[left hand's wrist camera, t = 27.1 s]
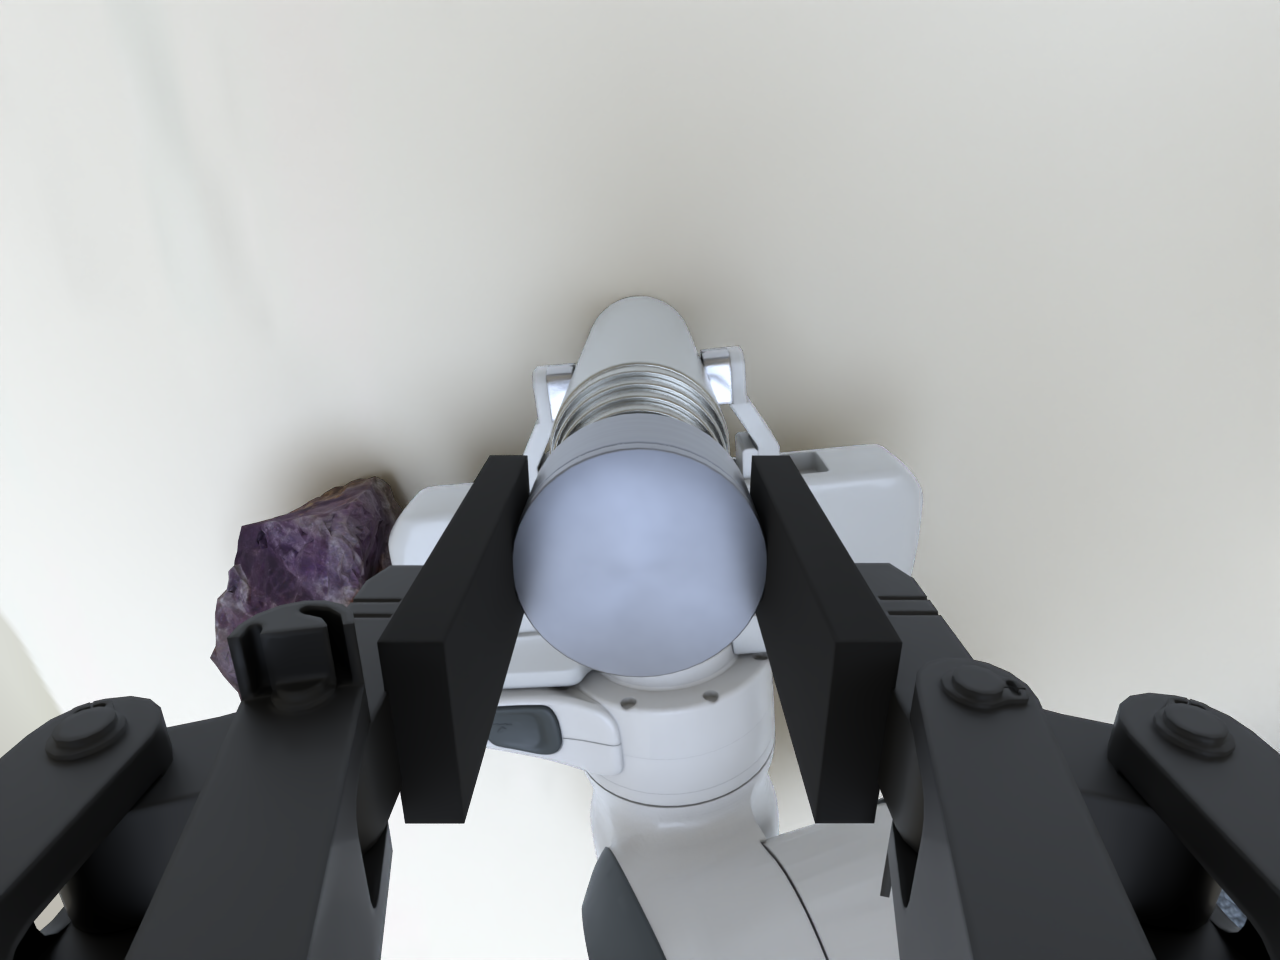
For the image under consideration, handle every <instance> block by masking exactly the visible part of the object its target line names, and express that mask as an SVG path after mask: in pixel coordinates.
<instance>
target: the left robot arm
mask: <svg viewBox="0 0 1280 960" xmlns="http://www.w3.org/2000/svg"><path fill="white" fill-rule="evenodd" d="M529 495H530V486H529V470H528V455H490V456H489V458H488V459H487V461H486V463H485V464H484V466H483V468H482V469H481V471H480V473H479V474H478V476H477V478H476V479H475V481H474V483H473V484H472V486H471V488H470V489H469V491H468V493H467V494H466V496H465V497H464V499H463V501H462V502H461V504H460V506H459V507H458V509H457V511H456V512H455V514H454V516H453V517H452V519H451V521H450V522H449V524H448V526H447V527H446V529H445V531H444V532H443V534H442V536H441V537H440V539H439V540H438V542H437V544H436V545H435V547H434V549H433V550H432V552H431V554H430V555H429V557H428V559H427V560H426V562H425V564H424V565H390V566H388V567H387V568H385V569H384V570H382V571H381V572H379V573H378V574H376V575H375V576H373V577H371V578H370V579H368V580H367V581H366V582H365V583H364V585H363V586H362V587H361V589H360V590H359V591H358V593H357V594H356V596H355V597H354V598H353V602H350V604H349V605H348V606H347V607H346V606H344V605H343V604H339V603H335V602H331V601H326V600H314V601H300V602H294V603H289V604H284V605H280V606H277V607H274V608H271V609H269V610H266V611H263V612H261V613H258V614H256V615H254V616H253V617H251V618H249V619H248V620H246V621H244V622H243V623H241V624H239V625H238V626H237V627H236V628H235V629H234V631H233V632H232V633H231V634H230V635H229V636H228V637H227V641H228V645H229V650H230V654H231V658H232V662H233V666H234V670H235V674H236V678H237V682H238V686H239V690H240V694H241V699H242V701H241V703H240V705H239V707H238V710H237V712H236V713H232V714H228V715H224V716H221V717H216V718H211V719H207V720H202V721H197V722H192V723H187V724H182V725H177V726H172V727H166V724H165V721H164V717H163V714H162V710H161V707H159V706H158V705H157V704H156V703H154V702H153V701H152V700H151V699H147V698H140V697H134V696H127V697H118V698H108V699H102V700H98V701H94V702H93V703H90V702H89V703H86V704H83V705H80V706H77V707H75V708H73V709H72V710H70V711H68V712H66V713H64V714H62V715H59V716H57V717H55V718H53V719H51V720H49V721H48V722H46V723H45V724H43V725H42V726H40V727H39V728H38V729H36V730H35V731H33V732H32V733H30V734H29V735H27V736H26V737H25V738H24V739H23V740H21V741H20V742H19V743H18V744H17V745H15V746H14V747H13V748H12V749H11V750H10V751H8V752H7V753H6V754H5V755H4V756H2V757H1V758H0V960H381V951H382V942H383V933H384V924H385V915H386V906H387V897H388V888H389V879H390V870H391V861H392V852H393V850H392V844H391V837H390V831H389V825H388V819H389V817H390V814H391V812H392V809H393V807H394V805H395V802H396V800H397V797H398V795H399V792H400V793H401V800H402V806H403V813H404V819H405V823H465V819H466V816H467V812H468V809H469V805H470V802H471V798H472V795H473V791H474V788H475V784H476V781H477V777H478V774H479V770H480V766H481V763H482V759H483V756H484V752H485V749H486V745H487V742H488V738H489V735H490V731H491V728H492V724H493V721H494V717H495V714H496V710H497V707H498V703H499V700H500V696H501V693H502V689H503V686H504V682H505V679H506V675H507V672H508V668H509V665H510V661H511V658H512V654H513V651H514V647H515V644H516V640H517V637H518V633H519V629H520V626H521V622H522V619H523V615H524V611H523V609H522V607H521V605H520V603H519V601H518V598H517V595H516V592H515V587H514V574H513V560H512V545H513V539H514V536H515V532H516V529H517V526H518V523H519V521H520V518H521V515H522V513H523V510H524V508H525V505H526V502H527V500H528V497H529ZM750 496H751V498H752V501H753V504H754V506H755V509H756V511H757V514H758V517H759V519H760V522H761V525H762V528H763V531H764V534H765V537H766V542H767V550H768V552H767V567H766V581H765V590H764V594H763V597H762V600H761V602H760V604H759V606H758V609H757V611H756V613H755V614H756V617H757V621H758V624H759V628H760V631H761V635H762V638H763V642H764V645H765V649H766V652H767V656H768V659H769V663H770V666H771V670H772V673H773V677H774V680H775V684H776V687H777V691H778V694H779V698H780V701H781V705H782V708H783V712H784V715H785V719H786V722H787V726H788V729H789V733H790V737H791V740H792V744H793V747H794V751H795V754H796V758H797V761H798V765H799V768H800V772H801V775H802V779H803V782H804V786H805V789H806V793H807V796H808V800H809V803H810V807H811V810H812V814H813V817H814V821H815V823H874V822H875V816H876V810H877V803H878V797H879V790H881V793H882V795H883V797H884V800H885V802H886V805H887V807H888V809H889V812H890V814H891V817H892V825H891V831H890V837H889V843H888V849H887V855H886V861H885V867H884V873H883V879H882V885H881V892H880V896H883V897H888V898H889V896H890V891H891V886H892V895H893V904H894V913H895V922H896V931H897V940H898V949H899V958H900V960H1280V754H1279V753H1278V752H1276V751H1275V750H1274V749H1273V748H1272V747H1271V746H1269V745H1268V744H1267V743H1266V742H1265V741H1263V740H1262V739H1261V738H1260V737H1259V736H1257V735H1256V734H1255V733H1254V732H1253V731H1251V730H1250V729H1248V728H1247V727H1245V726H1244V725H1242V724H1241V723H1239V722H1238V721H1236V720H1235V719H1233V718H1232V717H1230V716H1228V715H1226V714H1224V713H1222V712H1220V711H1218V710H1215V709H1213V708H1211V707H1209V706H1208V705H1206V704H1204V703H1201V702H1198V701H1195V700H1192V699H1190V700H1188V699H1187V698H1184V697H1180V696H1175V695H1165V694H1156V693H1145V694H1139V695H1132V696H1129V697H1128V698H1127V699H1126V700H1124V701H1123V702H1122V703H1121V704H1120V705H1119V708H1118V712H1117V715H1116V718H1115V722H1114V725H1113V724H1108V723H1103V722H1098V721H1094V720H1089V719H1084V718H1079V717H1074V716H1069V715H1064V714H1059V713H1056V712H1052V711H1048V710H1044V709H1043V708H1042V706H1041V704H1040V702H1039V700H1038V698H1037V697H1036V696H1035V694H1034V693H1033V692H1032V690H1031V689H1030V688H1029V686H1028V685H1027V684H1025V683H1024V682H1023V681H1021V680H1020V679H1018V678H1017V677H1015V676H1014V675H1013V674H1011V673H1010V672H1008V671H1005V670H1003V669H1001V668H998V667H996V666H994V665H991V664H989V663H986V662H981V661H977V660H973V658H972V657H971V656H970V654H969V653H968V652H967V650H966V649H965V647H964V646H963V645H962V643H961V642H960V641H959V639H958V638H957V637H956V635H955V634H954V633H953V631H952V630H951V629H950V627H949V626H948V624H947V623H946V622H945V620H944V619H943V618H942V616H941V615H938V611H937V610H936V608H935V607H934V605H933V604H932V603H931V601H930V600H927V596H926V595H925V593H924V592H923V591H922V589H921V588H920V587H919V585H918V584H917V582H916V581H915V580H914V578H912V577H911V576H909V575H907V574H906V573H904V572H903V571H901V570H900V569H898V568H897V567H895V566H893V565H892V564H890V563H854V561H853V560H852V558H851V556H850V555H849V553H848V551H847V550H846V548H845V546H844V545H843V543H842V541H841V540H840V538H839V536H838V535H837V533H836V531H835V530H834V528H833V526H832V525H831V523H830V521H829V520H828V518H827V516H826V515H825V513H824V512H823V510H822V508H821V507H820V505H819V503H818V502H817V500H816V498H815V497H814V495H813V493H812V492H811V490H810V488H809V487H808V485H807V483H806V482H805V480H804V478H803V477H802V475H801V473H800V472H799V470H798V469H797V467H796V465H795V464H794V462H793V460H792V459H791V457H790V455H752V462H751V478H750ZM1222 889H1223V890H1224V892H1225V893H1226V894H1227V895H1228V896H1229V897H1230V899H1231V900H1232V901H1233V902H1234V903H1235V904H1236V905H1237V907H1238V908H1239V909H1240V910H1241V911H1242V912H1243V914H1244V915H1245V916H1246V917H1247V920H1246V922H1245V924H1244V926H1243V927H1242V928H1239V927H1238V926H1237V925H1236V924H1235V923H1234V922H1232V921H1231V920H1230V919H1229V918H1228V917H1227V915H1226V914H1225V913H1224V912H1223V911H1222V909H1221V908H1220V907H1219V906H1218V905H1217V904H1216V903H1217V900H1218V898H1219V895H1220V893H1221V890H1222ZM58 893H59V894H60V897H61V899H62V902H63V904H64V907H63V908H62V909H61V911H60V912H59V913H58V914H57V915H56V917H55V918H54V919H53V920H52V921H51V922H50V923H49V924H48V925H47V926H45V927H44V928H43V929H42V930H41V931H39V930H38V929H37V928H36V926H35V924H34V921H35V919H36V918H37V917H38V916H39V915H40V914H41V912H42V911H43V910H44V909H45V908H46V907H47V906H48V904H49V903H50V902H51V901H52V900H53V899H54V897H55V896H56V895H57V894H58Z"/></svg>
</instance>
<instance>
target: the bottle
mask: <svg viewBox="0 0 1280 960" xmlns="http://www.w3.org/2000/svg"><path fill="white" fill-rule="evenodd" d="M634 413H644V414H657V415H662V416H668V417H671V418H674V419H678V420H681V421H684V422H686V423H688V424H690V425H692V426H695V427H697V428H698V429H700V430H701V431H703V432H705V433H706V434H708V435H709V436H711V437H712V438H713V439H714V440H715V441H716V442H718V443H719V444H720V445H721V446H722V447H723V448H724V449H725V450H726V451H727V453H728V454H729V455H730V444H729V433H728V429H727V424H726V421H725V419H724V416H723V413H722V411H721V408H720V406H719V403H718V401H717V398H716V396H715V393H714V391H713V389H712V386H711V384H710V381H709V379H708V376H707V374H706V371H705V369H704V366H703V364H702V361H701V359H700V356H699V354H698V352H697V349H696V347H695V344H694V342H693V339H692V337H691V334H690V332H689V329H688V327H687V325H686V323H685V321H684V320H683V318H682V317H681V315H680V314H679V313H678V312H677V311H676V310H675V309H674V308H673V307H671V306H670V305H668V304H667V303H665V302H663V301H661V300H659V299H656V298H653V297H647V296H632V297H627V298H623V299H621V300H618V301H616V302H614V303H613V304H611V305H610V306H608V307H607V308H606V309H605V310H604V311H603V312H602V313H601V314H600V315H599V316H598V318H597V319H596V321H595V322H594V324H593V326H592V328H591V331H590V333H589V336H588V338H587V341H586V343H585V346H584V348H583V351H582V353H581V356H580V358H579V361H578V363H577V366H576V368H575V370H574V373H573V375H572V378H571V380H570V383H569V385H568V388H567V390H566V393H565V395H564V398H563V400H562V403H561V405H560V408H559V410H558V412H557V415H556V417H555V420H554V423H553V427H552V431H551V438H550V450H549V456H550V454H551V453H552V452H553V451H554V450H555V449H556V447H557V446H559V445H560V444H561V443H562V442H563V441H564V440H565V439H566V438H568V437H569V436H570V435H572V434H573V433H575V432H576V431H578V430H579V429H581V428H583V427H585V426H587V425H589V424H591V423H593V422H596V421H599V420H602V419H605V418H608V417H613V416H617V415H622V414H634Z"/></svg>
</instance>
